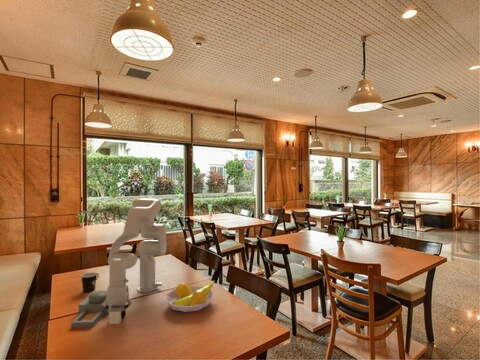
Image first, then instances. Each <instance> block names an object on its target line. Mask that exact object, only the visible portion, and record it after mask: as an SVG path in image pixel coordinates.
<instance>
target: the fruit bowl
mask: <svg viewBox="0 0 480 360" xmlns="http://www.w3.org/2000/svg"><path fill="white" fill-rule="evenodd" d="M214 283H215V280H212V282H210V283H208V284H206V285H204V286H200V285H197V286H196V285H190V284H188V283H186V282H182V283H180V284H178V285H177V286H176V288H174V289H173V290H171V291H169V292H168V293H167V294H166V295H165V298H166V299H165V302H166V303H167V305H168V306H169V307H170V308H171V309H172V310H173V311H178V312H179V311H180V312H183V313H184V312H185V313H190V312H197V311H199V310H202V309H203V308H206V307H208V306H210V304H211V302H212V300H213V298H214V294H213V292H212V290H211V289H212V288H213V286H214ZM190 305H192V306H190Z"/></svg>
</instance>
